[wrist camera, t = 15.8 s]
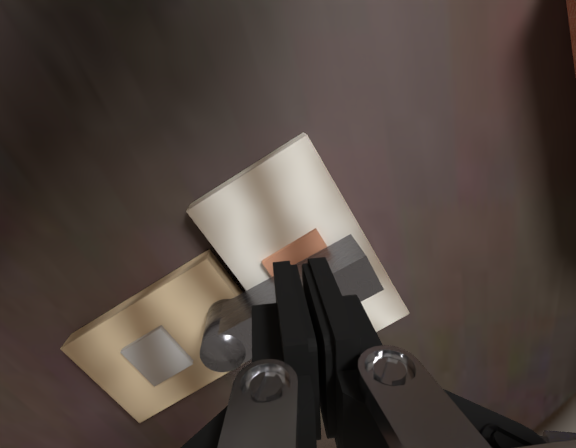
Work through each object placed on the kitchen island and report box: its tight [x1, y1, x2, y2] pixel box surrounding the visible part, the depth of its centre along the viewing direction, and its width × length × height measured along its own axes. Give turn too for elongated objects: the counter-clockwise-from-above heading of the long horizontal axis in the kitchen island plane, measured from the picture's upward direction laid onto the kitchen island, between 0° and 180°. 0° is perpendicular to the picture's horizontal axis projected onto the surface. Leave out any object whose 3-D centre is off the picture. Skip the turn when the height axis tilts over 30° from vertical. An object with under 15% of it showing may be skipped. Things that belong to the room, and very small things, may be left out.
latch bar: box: [200, 234, 384, 372], centre depth 27 cm, size 14×3×5 cm, turn 119°
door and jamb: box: [60, 132, 409, 423], centre depth 31 cm, size 26×18×2 cm
